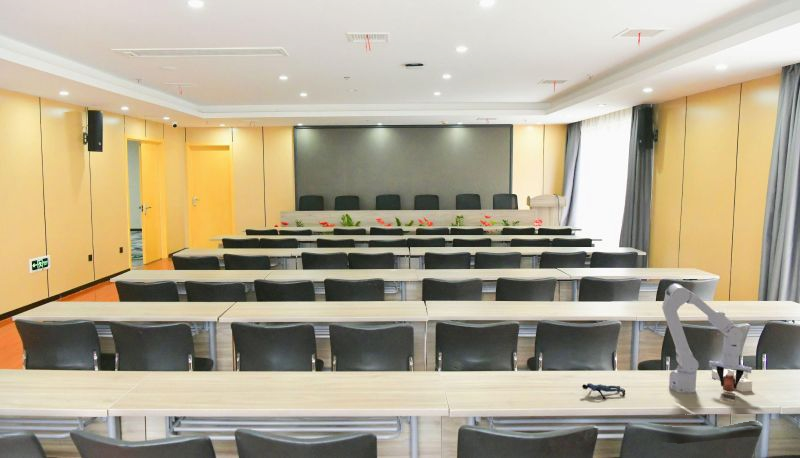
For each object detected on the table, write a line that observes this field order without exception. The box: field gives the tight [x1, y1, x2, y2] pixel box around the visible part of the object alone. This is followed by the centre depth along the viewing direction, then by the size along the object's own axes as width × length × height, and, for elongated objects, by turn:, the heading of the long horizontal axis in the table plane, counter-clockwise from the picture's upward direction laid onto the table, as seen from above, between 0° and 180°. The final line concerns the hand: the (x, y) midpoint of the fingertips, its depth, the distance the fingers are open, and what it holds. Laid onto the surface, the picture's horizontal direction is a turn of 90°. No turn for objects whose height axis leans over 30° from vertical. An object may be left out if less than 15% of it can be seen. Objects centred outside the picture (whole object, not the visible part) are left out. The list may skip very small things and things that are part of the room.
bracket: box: [711, 369, 749, 381], centre depth 238 cm, size 13×7×8 cm, turn 3°
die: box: [735, 377, 753, 392], centre depth 228 cm, size 5×5×5 cm
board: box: [718, 388, 736, 405], centre depth 220 cm, size 15×6×1 cm, turn 147°
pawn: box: [722, 374, 735, 392], centre depth 223 cm, size 4×4×6 cm
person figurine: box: [581, 383, 626, 401], centre depth 224 cm, size 11×4×18 cm
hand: (728, 386), depth 224 cm, fingers closed on pawn, 4 cm apart
